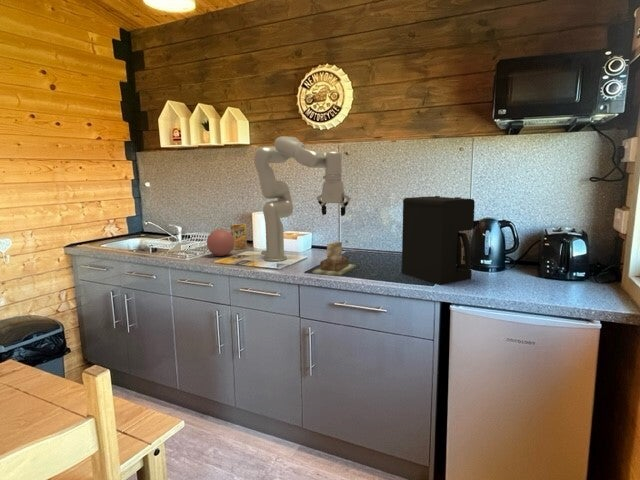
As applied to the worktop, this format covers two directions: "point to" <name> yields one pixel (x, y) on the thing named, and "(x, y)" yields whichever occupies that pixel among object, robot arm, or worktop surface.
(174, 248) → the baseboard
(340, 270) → the brown open box
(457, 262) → the coffee maker
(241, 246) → the candy box
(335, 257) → the tan mottled block
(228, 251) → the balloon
